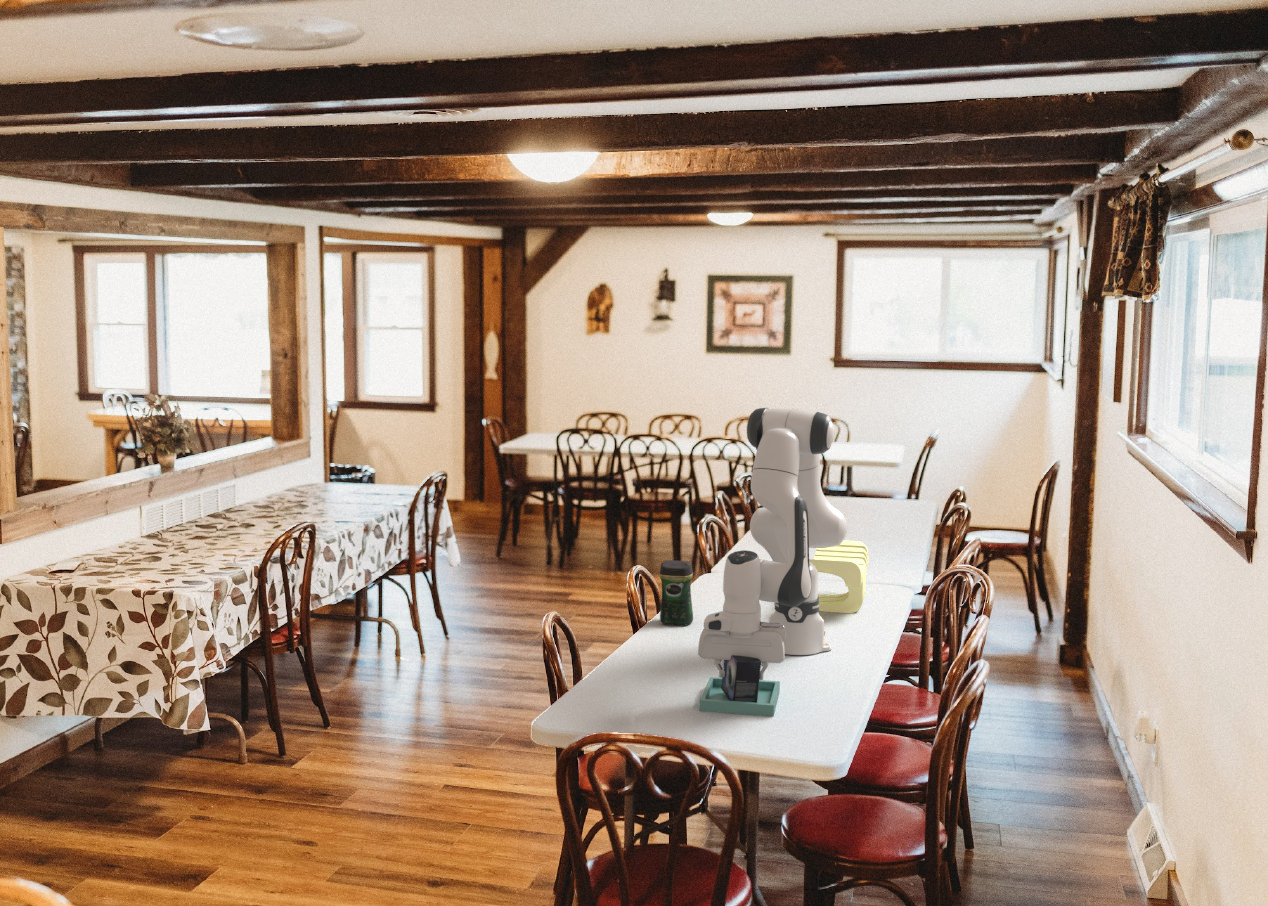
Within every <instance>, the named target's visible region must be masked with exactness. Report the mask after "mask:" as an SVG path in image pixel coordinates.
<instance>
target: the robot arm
mask: <svg viewBox="0 0 1268 906" xmlns="http://www.w3.org/2000/svg"><path fill="white" fill-rule="evenodd" d="M834 438H835V426H834V421H833V419H832V418H831V417H830V415H828V414H827V413H823V412H819V411H815V412H813V411H810V410H805V409H798V408H769V407H759V408H756V409H754V410H753V411H752V412H751V413H750V414H749V416H748V420H747V423H746V439H747V441H748V443H749V444H750V445H751V446H752V447H754V448H755V450H756V453H755V457H754V461H753V466H752V471H751V472H752V473H751V479H750V492H751V494H752V496H753V498H754V500H755V501H756V503H758V504H759V505H760V506H761V507H759V508H757V509H756V510H755V511H754V513H753V514H752V516H751V517H750V518H751V519H750V522H749V530H750V533H751V536H752V537H753V540H754V541H755V542H756V543H758V544H759V546H761V547H762V548H763V549H764V550H765V551H766V552H767V553H768V555H769V556H770V557H769V558H771V560H772V561H771V560H767V559H761V558H759V555H758V553H757V552H755V551H751V550H743V549H742V550H739V551H734V552H731V553H730V554H728V555H727V556H726V559H725V565H724V570H723V581H722V592H723V595H724V602H723V606H722V608H723V609H722V611H718V612H714V613H710V614H708V615H707V616H706V617H705V619H704V620H703V629H702V631H701V633H700V636H699V641H698V647H697V655H698V656H699V658H701V659H704V660H706V659H707V660H714V665H715V667H716V669H717V670H718V677H719V678H725V676H726V675H725V673H726V669H724V668H723V665H722V664H721V662H722V660H723V661H724V660H730V659H731V656H732V655H736V656H746V657H753V658H758V659H759V660H760V661H761V667H762V668H761V669H760V677H759V680H764V673H765V672H766V670H767V669H768V666H769V663H771V664H772V663H773V664H782V662H783V661H784V660H785V656H786V655H791V656H808V655H815V654H818V653H819V654H820V653H822V652H829V651H831V650H832V645H831V644H830V642H829V640H828V638H827V636H826V631H825V619H823V617H822V616H821V615H820V613H819V612H820V611H819V606H820V603H819V598H818V595H819V593H818V591H819V590H818V589H819V572H818V571H817V569H816V567H815V566H814V565H813V564H812V563H810V562H809V559H810V548H811V549H816V548H828V547H834V546H839V545H840V544H841V543H842V542H843V541H844V540H845V539H846V537H847V534H848V522H847V519H846V516H844V514H843V513H842V511H840V510H839V509H837V508H836V507H835V506H833V505H832V504H831V502H829V500H828V499H827V497H826V496H825V494H824V492H823V489H822V486H821V471H820V470H821V462H820V461H821V460H820V456H821V455H820V454H822V455H823V454H825V453H826V452H827V451H828V450H830V449H831V446H832V444H833V442H834V440H835V439H834ZM760 601H761V602H769V603H773V604H774V611H773V612H772V614H770V616H769V618H768V622H766V621H762V619H761V617H762V614H761V612H762V607H761V603H760Z"/></svg>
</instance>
